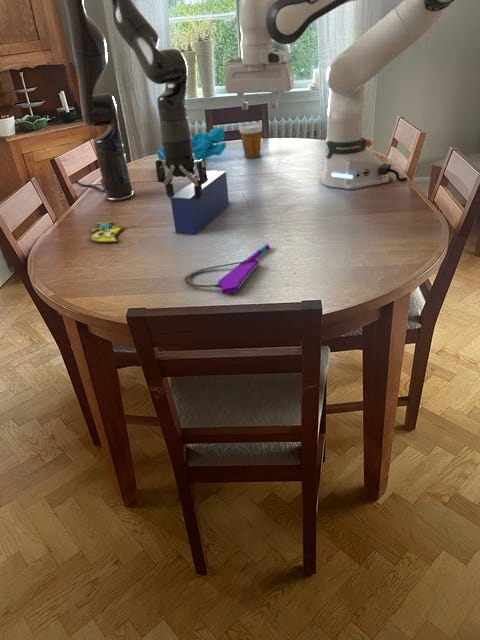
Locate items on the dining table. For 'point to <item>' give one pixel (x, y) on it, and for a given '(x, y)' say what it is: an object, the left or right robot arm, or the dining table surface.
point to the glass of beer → (251, 139)
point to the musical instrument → (234, 273)
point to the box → (199, 203)
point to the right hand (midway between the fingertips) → (259, 108)
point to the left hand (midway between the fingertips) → (185, 197)
